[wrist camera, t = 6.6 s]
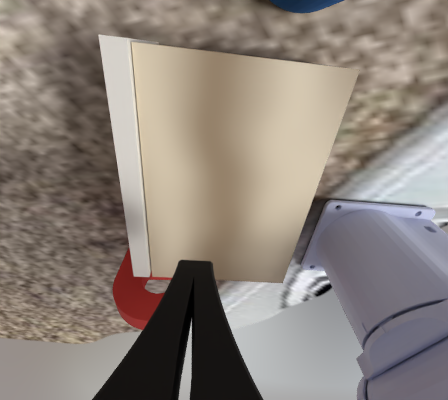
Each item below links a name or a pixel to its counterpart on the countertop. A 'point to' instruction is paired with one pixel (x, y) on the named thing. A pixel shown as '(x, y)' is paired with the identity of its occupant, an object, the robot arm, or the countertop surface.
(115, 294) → the bracket
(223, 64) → the cream rectangular block
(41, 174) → the countertop surface
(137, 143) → the door
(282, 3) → the beverage can
